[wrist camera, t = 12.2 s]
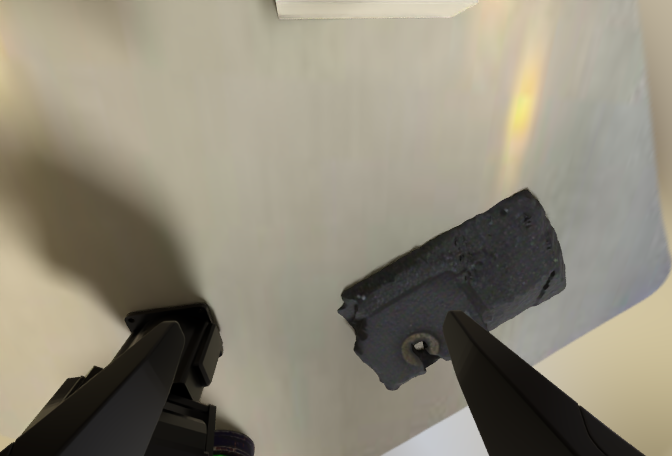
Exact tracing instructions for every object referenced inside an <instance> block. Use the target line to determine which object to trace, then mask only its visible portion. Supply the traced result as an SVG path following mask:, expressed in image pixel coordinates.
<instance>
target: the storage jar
mask: <svg viewBox="0 0 672 456" xmlns="http://www.w3.org/2000/svg"><path fill="white" fill-rule="evenodd" d="M254 450H255V446H254V443H253V441H252V440H251V439H250V438H249V437H247V436H246V435H244V434H241V433H238V432H234V431H228V430H215V433H214V449H213V456H254Z"/></svg>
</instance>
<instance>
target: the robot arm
mask: <svg viewBox="0 0 672 456" xmlns="http://www.w3.org/2000/svg"><path fill="white" fill-rule="evenodd" d="M200 309H203V310H200ZM132 318H133V319H132ZM125 322H126V324H127V326H128V328H129V329H130V331H131V335H130V336H129V338H128V339H127V340H126V342H125V343H124V345H123V346H122V347H121V349H120V350H119V352H118V353H117V355H116V356H115V357H114V359H113V360H112V362H111V363H110V364H109V365H108V366H106V367H105V368H104V369H103V368H100V367H97V366H94V367H93V368H92V369H91V370H90V371H89V373H88V374H87V375H86V376H85V377H84V376H81V377H75V378H68V379H67V380H66V381H65V382H64V383H63V385H62V386H61V387H60V388H59V390H58V391H57V392H56V393H55V394H54V396H53V397H52V398H51V399H50V400H49V402H48V403H47V404H46V405H45V407H44V408H43V409H42V410H41V411H40V413H39V414H38V415H37V416H36V417H35V419H34V420H33V421H32V422H31V424H30V425H29V426H28V427H27V428H26V430H25V431H24V432H23V433H22V435H21V436H20V437H18V438H17V439H16V441H15V442H13V443H11V444H10V445H8V446H7V447H6V448H5V449H3V450H2V451H1V452H0V456H213V449H214V433H215V417H216V406H214V405H211V404H209V405H206V404H203V403H200V402H199V401H200V398H201V394H202V391H203V388H204V387H206V386H209V385H210V383H211V381H212V378H213V375H214V371H215V368H216V365H217V361H218V358H219V357H221V356H222V354H223V348H222V344H223V342H222V339H221V336H220V333H219V331H218V328H217V325H216V324H215V323H214V322H213V319H212V317H211V314H210V311H209V308H208V306H207V305H206V304H203V303H199V304H192V305H184V306H177V307H169V308H162V309H154V310H147V311H139V312H132V313H129V314H128V315H127V316H126V317H125ZM442 330H443V334H444V338H445V341H446V344H447V348H448V351H449V354H450V357H451V361H452V364H453V367H454V370H455V373H456V376H457V379H458V382H459V384H460V387H461V389H462V392H463V394H464V396H465V399H466V401H467V404H468V406H469V408H470V411H471V413H472V415H473V418H474V420H475V423H476V425H477V428H478V430H479V432H480V435H481V437H482V439H483V442H484V444H485V447H486V449H487V452H488V454H489V456H645V455H644V454H643V453H641V452H640V451H639V450H637V449H636V448H635V447H633V446H632V445H631V444H629V443H628V442H626V441H625V440H624V439H622V438H621V437H620V436H619V435H617V434H616V433H615V432H613V431H612V430H611V429H610V428H608V427H607V426H606V425H604V424H603V423H602V422H601V421H599V420H598V419H597V418H596V417H594V416H593V415H592V414H590V413H589V412H588V411H586V410H585V409H584V408H583V407H582V406H579V405H578V403H576V402H575V401H574V400H573V399H572V398H570V397H569V396H568V395H567V394H565V393H564V392H563V391H562V390H560V389H559V388H558V387H557V386H555V385H554V384H553V383H552V382H550V381H549V380H548V379H547V378H545V377H544V376H543V375H541V374H540V373H539V372H538V371H536V370H535V369H534V368H533V367H532V366H530V365H529V364H528V363H527V362H525V361H524V360H523V359H522V358H520V357H519V356H518V355H517V354H515V353H514V352H513V351H512V350H510V349H509V348H508V347H507V346H505V345H504V344H503V343H502V342H500V341H499V340H498V339H497V338H495V337H494V336H493V335H492V334H490V333H489V332H488V331H487V330H485V329H484V328H483V327H482V326H480V325H479V324H478V323H477V322H475V321H474V320H473V319H472V318H470V317H469V316H468V315H467V314H465V313H464V312H463V311H461V310H450V311H448V312H447V315H446V317H445V320H444V323H443V327H442Z"/></svg>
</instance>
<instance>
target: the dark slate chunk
mask: <svg viewBox="0 0 672 456" xmlns="http://www.w3.org/2000/svg"><path fill="white" fill-rule="evenodd" d="M565 287H566V277H565V264H564V262H563V257H562V251H561V247H560V243H559V241H558V240H557V235H556V232H555V230H554V228H553V227H552V226H551V224H550V221H549V220H548V219H547V218H546V217H545V211H544V209H543V207H542V205H541V204H540V203H539V202H538V200H536V199H534V197H533V196H532V194H531V193H530V192H529V191H528V190H524V191H522V192H519V193H516V194H515V195H514V196H512V197H509V198H506V199H504V200H502V201H500V202H499V203H497V204H496V205H495V206H493V207H492V208H490V209H489V210H488V211H486V212H484V213H482V214H478V215H476V216H475V217H474V218H472V219H469V220H467V221H465V222H464V223H462V224H461V225H459V226H457V227H455V228H453V229H451V230H449V231H447V232H445V233H443V234H441V235H439V236H438V237H436V238H435V239H433V240H431V241H429V242H427V243H426V244H424V245H423V246H422V247H420V248H419V249H416V250H414V251H412V252H411V253H410V254H408V255H406V256H404V257H402V258H400V259H399V260H397V261H396V262H394V263H393V264H391V265H389V266H387V267H385V268H384V269H382V270H381V271H379V272H378V273H376V274H374V275H372V276H370V277H369V278H367V279H365V280H363V281H361V282H359V283H357V284H356V285H354V286H353V287H352V288H350V289H348V290H346V291H344V292H343V294H342V300H343V301H344V302H345V303H344V305H343V306H342V307H341V308H340V309H339V310H338V313H339V314H340V315H342V316H343V317H344V318H345V319H346V320H347V321H348V322H349V324H350V325H351V326H352V327H353V328H354V329H355V330H356V342H355V346H354V352H355V353H356V354H357V355H358V356H359V357H360V359H361V360H362V361H363V362H364V363H366V364H367V365H368V366H370V367H371V368H372V369H373V370H374V371H375V372H376V373H377V375H378V376H379V379H380V382H382V383H384V384H385V386H386V388H387V389H388V390H397V389H398V388H399V387H400V386H401V385H402V384H404V383H406V382H407V381H409V380H410V379H411V378H414V377H416V376H418V375H422V374H425V373H426V369H425V368H427V367H428V366H430V365H431V364H433V363H435V362H436V361H437V360H438V359H440V358H443V359H444V360H446V361H448V360H451V357H450V354H449V351H448V348H447V344H446V341H445V338H444V334H443V330H442V327H443V323H444V320H445V317H446V315H447V312H448V311H450V310H461V311H463V312H464V313H465V314H467V315H468V316H469V317H470V318H472V319H473V320H474V321H475V322H477V323H478V324H479V325H480V326H482V327H483V328H484V329H485V330H487V331H488V332H489V331H491V330H493V329H495V328H496V327H498V326H499V325H500V324H502V323H504V322H506V321H507V320H509V319H512V318H514V317H515V316H516V315H518V314H520V313H521V312H523V311H524V310H526V309H528V308H529V307H532V306H537V305H539V304H540V303H542V302H544V301H546V300H548V299H550V298H551V297H553V296H554V295H556V294H559V293H560V292H561V291H563V290H564V289H565ZM421 341H423V346H424V348H425V349H424V350H416V349H415V347H414V345H415V344H417V343H418V342H421Z"/></svg>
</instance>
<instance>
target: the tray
mask: <svg viewBox="0 0 672 456" xmlns="http://www.w3.org/2000/svg"><path fill="white" fill-rule="evenodd" d="M477 3H478V0H276V6H277V12H278V18H279V19H353V18H450V17H454V16H455V15H457V14H459V13H461V12H463V11H464V10H466V9H468V8H470V7H472V6H474V5H475V4H477Z"/></svg>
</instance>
